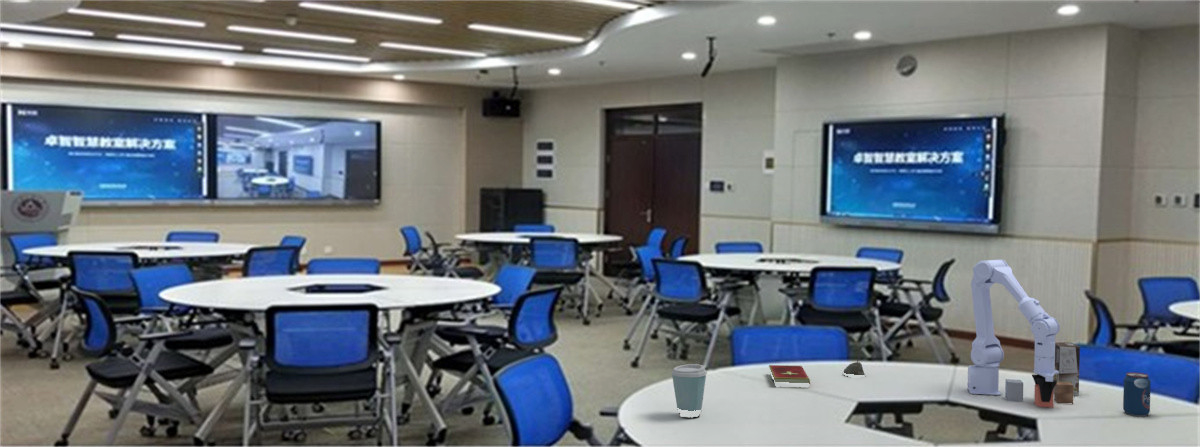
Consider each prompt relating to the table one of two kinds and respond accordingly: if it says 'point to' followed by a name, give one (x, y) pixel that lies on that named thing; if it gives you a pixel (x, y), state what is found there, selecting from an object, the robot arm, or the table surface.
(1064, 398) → the walnut block
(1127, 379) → the soda can
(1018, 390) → the grey block
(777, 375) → the hardcover book
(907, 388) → the table surface
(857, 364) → the sword in stone
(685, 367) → the disposable coffee cup
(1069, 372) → the coffee box
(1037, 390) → the red block
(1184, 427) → the table surface
